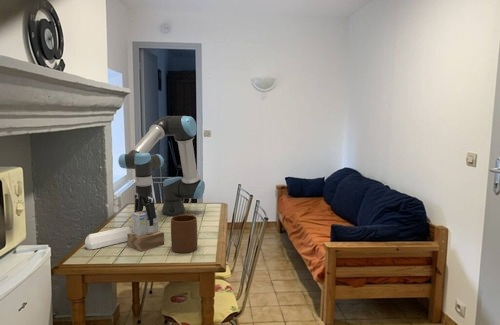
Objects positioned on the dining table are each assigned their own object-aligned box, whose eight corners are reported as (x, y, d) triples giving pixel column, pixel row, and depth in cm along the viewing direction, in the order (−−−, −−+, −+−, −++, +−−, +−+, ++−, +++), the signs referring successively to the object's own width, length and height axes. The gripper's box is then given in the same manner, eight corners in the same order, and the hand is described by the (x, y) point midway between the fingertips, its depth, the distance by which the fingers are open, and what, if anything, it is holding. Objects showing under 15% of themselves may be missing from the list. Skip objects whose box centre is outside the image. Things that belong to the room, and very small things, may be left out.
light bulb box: (151, 229, 195) (151, 208, 193) (159, 231, 190) (158, 210, 189) (132, 233, 187) (131, 212, 186) (139, 236, 182) (138, 215, 181)
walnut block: (127, 245, 188) (127, 233, 188) (150, 239, 198) (149, 227, 197) (141, 251, 181) (140, 238, 180) (164, 244, 190) (163, 232, 189)
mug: (175, 239, 197) (174, 210, 195) (199, 239, 198) (199, 210, 196) (169, 254, 178) (168, 222, 175) (196, 253, 178) (195, 221, 176)
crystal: (127, 228, 204) (81, 239, 188) (132, 224, 198) (85, 235, 182) (131, 242, 202) (84, 253, 186) (136, 238, 197) (88, 250, 181)
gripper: (125, 183, 189) (127, 227, 192) (149, 188, 176) (151, 236, 179) (138, 181, 195) (140, 224, 198) (162, 186, 181) (164, 232, 184)
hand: (145, 230), depth 188 cm, fingers open, 8 cm apart
